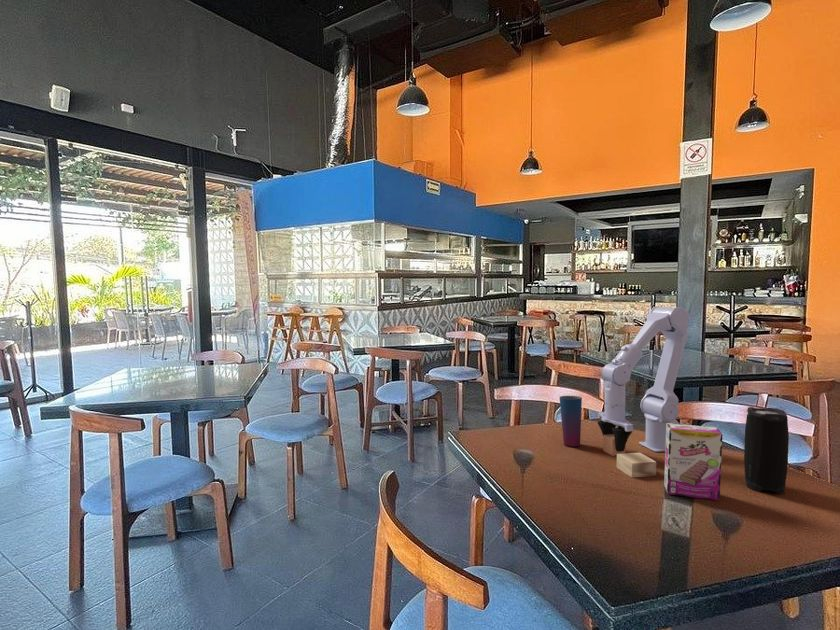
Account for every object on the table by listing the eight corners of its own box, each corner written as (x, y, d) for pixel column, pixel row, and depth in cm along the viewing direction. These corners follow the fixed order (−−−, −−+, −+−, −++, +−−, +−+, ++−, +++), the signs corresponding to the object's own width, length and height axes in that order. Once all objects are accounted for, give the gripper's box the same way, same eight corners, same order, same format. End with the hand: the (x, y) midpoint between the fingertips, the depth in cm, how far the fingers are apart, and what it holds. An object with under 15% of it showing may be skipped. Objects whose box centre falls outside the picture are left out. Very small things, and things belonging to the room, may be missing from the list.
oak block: (639, 466, 127) (639, 452, 126) (656, 476, 120) (656, 461, 120) (616, 468, 126) (616, 453, 125) (631, 478, 119) (631, 463, 119)
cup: (586, 447, 140) (584, 398, 141) (564, 447, 141) (563, 399, 141) (579, 441, 147) (577, 395, 148) (558, 441, 147) (556, 395, 148)
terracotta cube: (616, 449, 140) (616, 433, 139) (625, 454, 135) (625, 438, 135) (603, 450, 139) (603, 434, 138) (612, 455, 134) (612, 439, 134)
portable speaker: (774, 481, 115) (777, 406, 114) (795, 498, 106) (798, 416, 105) (736, 478, 117) (738, 404, 116) (753, 494, 108) (756, 414, 107)
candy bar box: (667, 495, 108) (668, 428, 107) (663, 486, 113) (664, 422, 112) (721, 502, 105) (723, 432, 104) (715, 492, 109) (717, 426, 108)
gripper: (589, 398, 143) (588, 441, 143) (617, 410, 128) (617, 457, 129) (609, 397, 144) (608, 439, 145) (639, 409, 130) (639, 455, 130)
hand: (614, 447), depth 137 cm, fingers open, 5 cm apart
